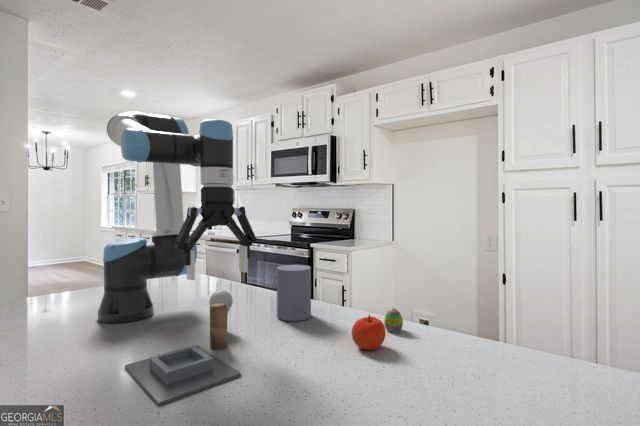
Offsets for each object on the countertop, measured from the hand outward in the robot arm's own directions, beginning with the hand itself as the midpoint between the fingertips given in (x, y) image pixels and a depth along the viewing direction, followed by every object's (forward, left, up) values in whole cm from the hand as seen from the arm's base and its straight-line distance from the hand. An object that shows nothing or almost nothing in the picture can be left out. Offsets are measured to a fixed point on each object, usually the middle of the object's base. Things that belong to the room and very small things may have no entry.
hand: (218, 275), depth 89 cm
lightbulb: (-10, +6, -18) cm, 21 cm away
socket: (+7, -12, -17) cm, 22 cm away
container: (-6, +28, -18) cm, 34 cm away
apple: (+25, +26, -18) cm, 40 cm away
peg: (0, 0, -17) cm, 17 cm away
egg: (+22, +40, -18) cm, 49 cm away
